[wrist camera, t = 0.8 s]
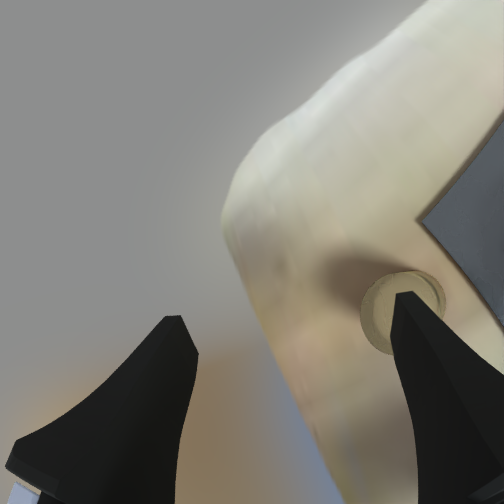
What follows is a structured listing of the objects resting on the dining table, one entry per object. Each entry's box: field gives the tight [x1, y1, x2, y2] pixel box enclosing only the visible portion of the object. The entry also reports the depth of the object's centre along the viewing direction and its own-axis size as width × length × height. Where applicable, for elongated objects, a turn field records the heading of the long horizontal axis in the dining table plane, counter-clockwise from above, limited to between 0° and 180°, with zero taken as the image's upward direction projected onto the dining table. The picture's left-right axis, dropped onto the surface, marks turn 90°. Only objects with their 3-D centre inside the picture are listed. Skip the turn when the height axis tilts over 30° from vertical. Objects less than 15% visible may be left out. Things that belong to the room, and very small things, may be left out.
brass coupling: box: [360, 271, 446, 356], centre depth 18 cm, size 5×5×5 cm
